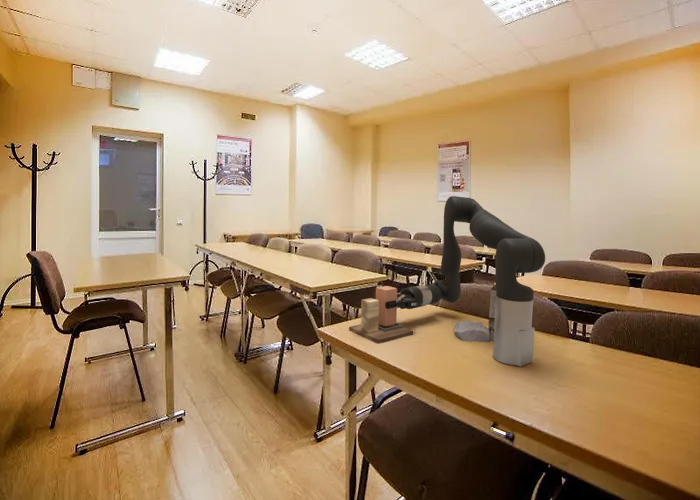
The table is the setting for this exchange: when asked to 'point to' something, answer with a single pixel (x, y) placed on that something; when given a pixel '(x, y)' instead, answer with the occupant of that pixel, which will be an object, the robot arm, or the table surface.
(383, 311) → the terracotta pillar
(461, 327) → the stone block
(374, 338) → the brown board
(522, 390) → the table surface
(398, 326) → the slot frame
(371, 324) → the birch column
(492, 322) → the coffee box
